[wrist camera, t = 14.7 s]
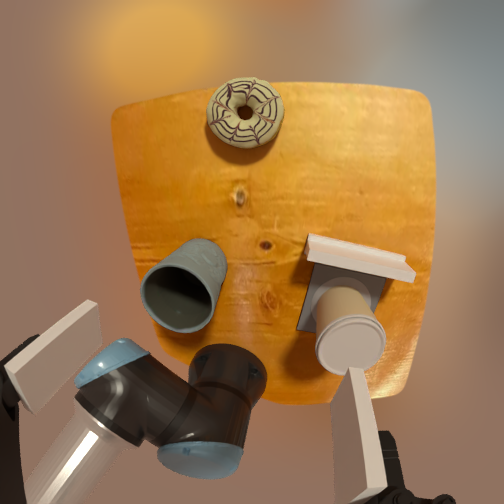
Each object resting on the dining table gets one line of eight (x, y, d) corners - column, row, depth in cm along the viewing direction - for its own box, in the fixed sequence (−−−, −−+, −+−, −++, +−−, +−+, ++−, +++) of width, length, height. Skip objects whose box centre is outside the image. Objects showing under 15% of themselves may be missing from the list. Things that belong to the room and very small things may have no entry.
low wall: (398, 272, 41) (411, 287, 35) (304, 252, 42) (305, 265, 36) (403, 255, 40) (418, 268, 34) (308, 233, 41) (310, 243, 36)
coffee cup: (324, 338, 45) (329, 386, 34) (302, 294, 43) (304, 337, 32) (374, 316, 43) (394, 360, 32) (357, 269, 41) (376, 306, 30)
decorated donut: (227, 73, 36) (221, 66, 32) (295, 96, 36) (295, 89, 32) (201, 134, 39) (193, 131, 36) (268, 159, 39) (265, 158, 35)
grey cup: (229, 233, 43) (208, 263, 31) (235, 293, 46) (218, 336, 35) (168, 235, 44) (132, 263, 33) (177, 291, 47) (149, 330, 36)
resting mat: (361, 338, 45) (362, 340, 45) (296, 327, 46) (296, 329, 46) (385, 277, 41) (386, 279, 41) (315, 262, 42) (315, 263, 42)
